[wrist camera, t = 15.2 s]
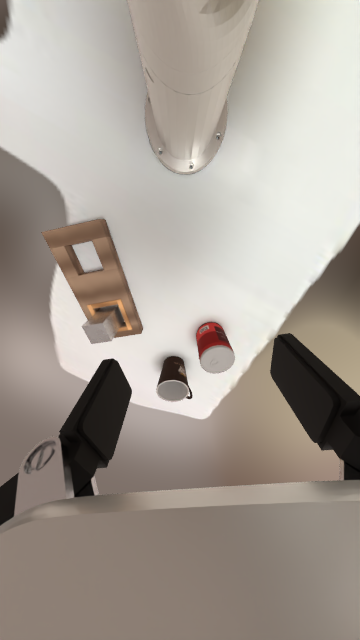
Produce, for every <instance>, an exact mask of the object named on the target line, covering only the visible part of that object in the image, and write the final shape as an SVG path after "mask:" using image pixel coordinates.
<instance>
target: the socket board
mask: <svg viewBox="0 0 360 640" xmlns="http://www.w3.org/2000/svg"><path fill="white" fill-rule="evenodd" d="M42 234H43V236H44V238H45V240H46V242H47V244H48V246H49V248H50V250H51V251H52V253H53V255H54V257H55V259H56V261H57V263H58V265H59V267H60V268H61V270H62V272H63V274H64V276H65V278H66V280H67V282H68V284H69V285H70V287H71V289H72V291H73V293H74V295H75V297H76V299H77V301H78V302H79V304H80V306H81V308H82V310H83V312H84V314H85V316H86V318H87V319H88V320H89V319H90V318H91V317H92V316H93V315H94V314H95V313H96V312H97V311H98V310H99V309H101V307H107V306H112V305H118V306H119V309H120V311H121V313H122V316H123V318H124V321H125V322H123V323H122V325H121V327H120V328H119V330H118V331H117V333H116V334H115V336H114V338H116V337H123V336H129V335H135V334H141V333H142V330H143V327H142V324H141V321H140V318H139V315H138V312H137V310H136V307H135V304H134V301H133V298H132V295H131V292H130V289H129V287H128V284H127V281H126V278H125V275H124V272H123V269H122V266H121V264H120V261H119V258H118V255H117V252H116V249H115V246H114V244H113V241H112V238H111V235H110V232H109V229H108V226H107V223H106V221H105V220H103V219H97V220H93V221H89V222H84V223H80V224H75V225H71V226H67V227H62V228H58V229H54V230H49V231H45V232H42ZM88 241H92V242H93V244H94V247H95V249H96V252H97V254H98V256H99V259H100V261H101V264H102V266H103V270H98V271H93V272H88V273H84V271H83V269H82V267H81V265H80V263H79V260H78V258H77V256H76V254H75V252H74V250H73V248H72V245H74V244H79V243H84V242H88Z"/></svg>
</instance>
